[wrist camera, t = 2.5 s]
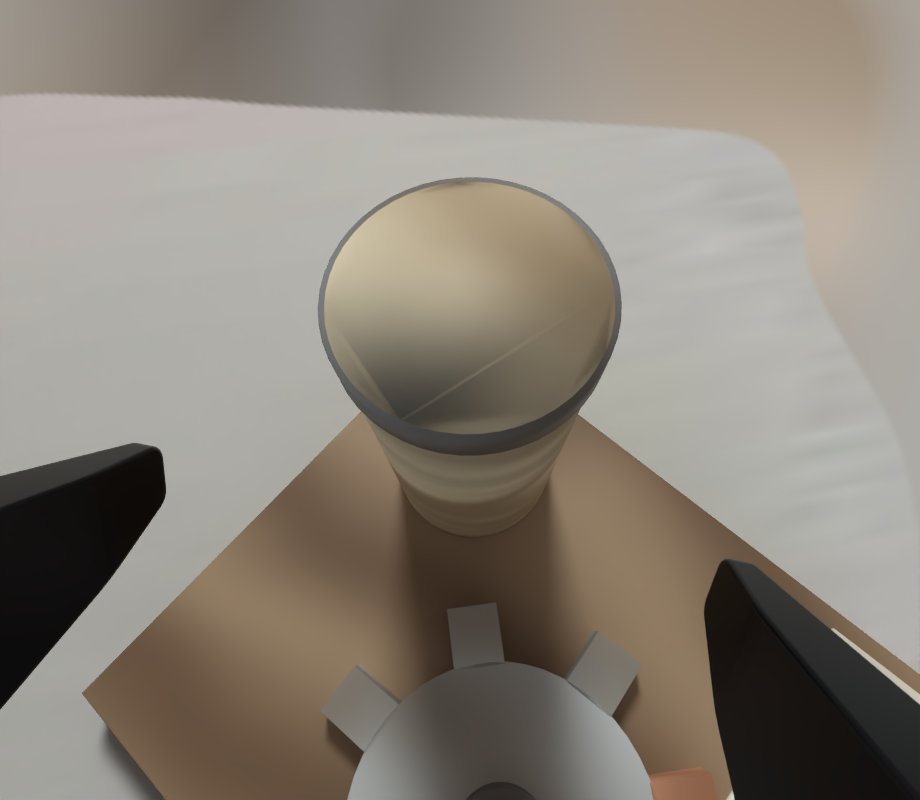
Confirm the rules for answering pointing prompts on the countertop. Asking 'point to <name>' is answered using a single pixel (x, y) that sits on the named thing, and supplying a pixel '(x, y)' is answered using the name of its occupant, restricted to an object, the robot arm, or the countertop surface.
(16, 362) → the countertop surface
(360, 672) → the sprocket board
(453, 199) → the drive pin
